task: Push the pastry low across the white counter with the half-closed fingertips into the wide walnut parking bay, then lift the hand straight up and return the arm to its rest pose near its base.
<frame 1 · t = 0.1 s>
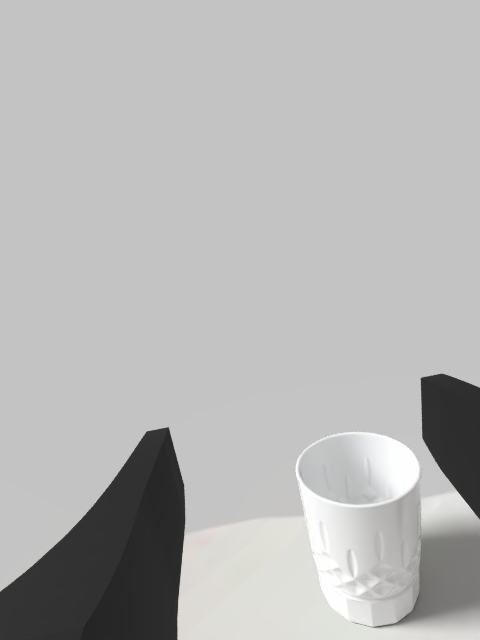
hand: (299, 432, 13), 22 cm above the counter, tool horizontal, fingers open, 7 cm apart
white cup: (368, 585, 32), on the counter
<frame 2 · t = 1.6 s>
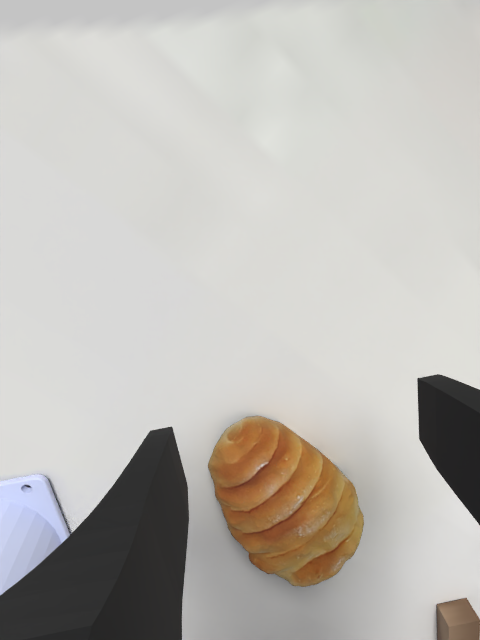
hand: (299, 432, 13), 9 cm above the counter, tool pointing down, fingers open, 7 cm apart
pastry: (278, 484, 26), on the counter
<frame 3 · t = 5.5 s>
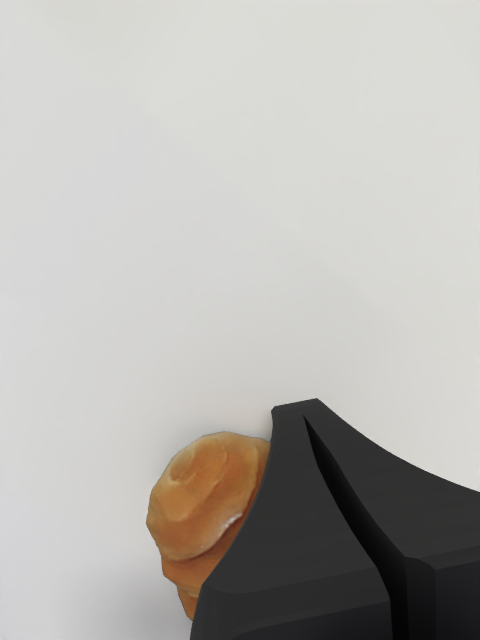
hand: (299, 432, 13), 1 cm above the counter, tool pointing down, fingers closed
pastry: (273, 532, 16), on the counter
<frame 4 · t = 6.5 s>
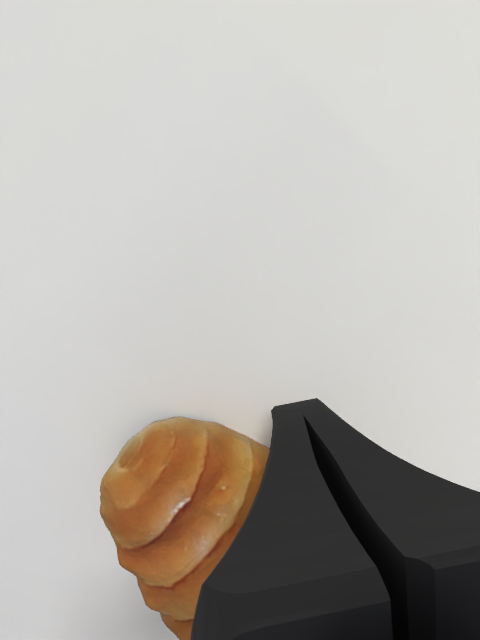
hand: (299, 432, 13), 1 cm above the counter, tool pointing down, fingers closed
pastry: (241, 519, 16), on the counter
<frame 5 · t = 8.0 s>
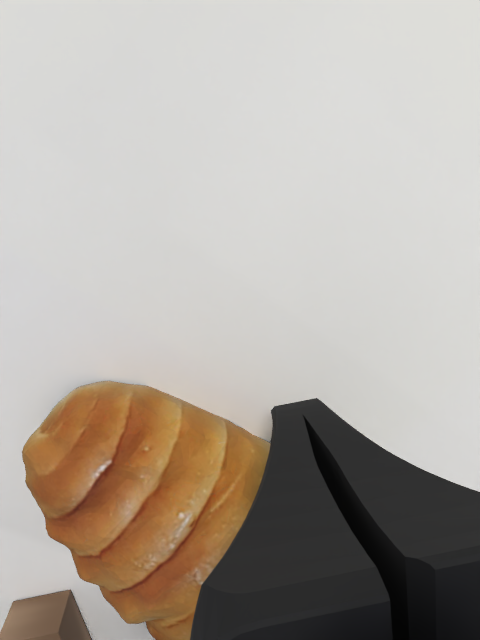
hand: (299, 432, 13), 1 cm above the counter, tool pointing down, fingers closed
parking bay: (315, 581, 17), on the counter
pastry: (189, 489, 15), on the counter
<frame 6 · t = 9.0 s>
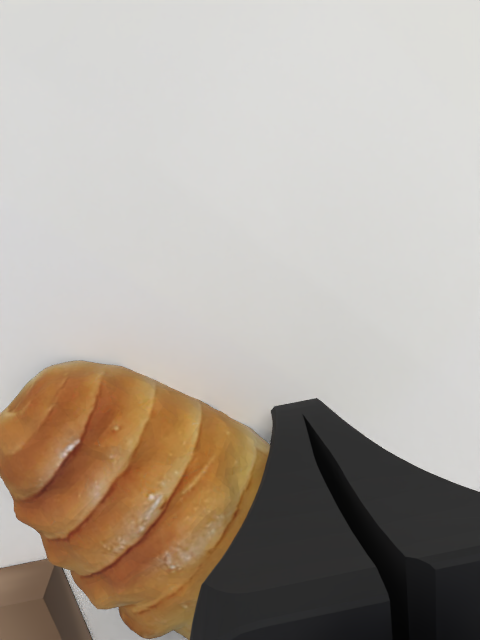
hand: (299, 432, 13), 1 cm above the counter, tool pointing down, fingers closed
parking bay: (311, 550, 16), on the counter
pastry: (166, 474, 15), on the counter
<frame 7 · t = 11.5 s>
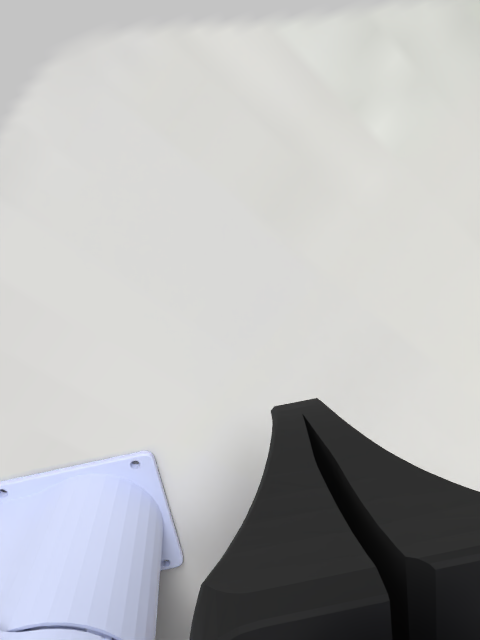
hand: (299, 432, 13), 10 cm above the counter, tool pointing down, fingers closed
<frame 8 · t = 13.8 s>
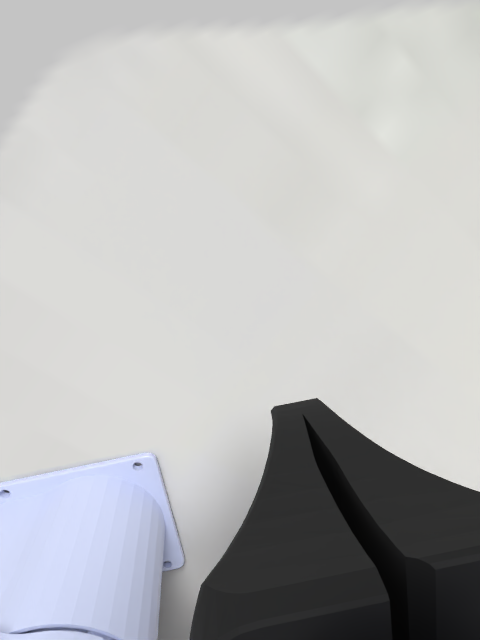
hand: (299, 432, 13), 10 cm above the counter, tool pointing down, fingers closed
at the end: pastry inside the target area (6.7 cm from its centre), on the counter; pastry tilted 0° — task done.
